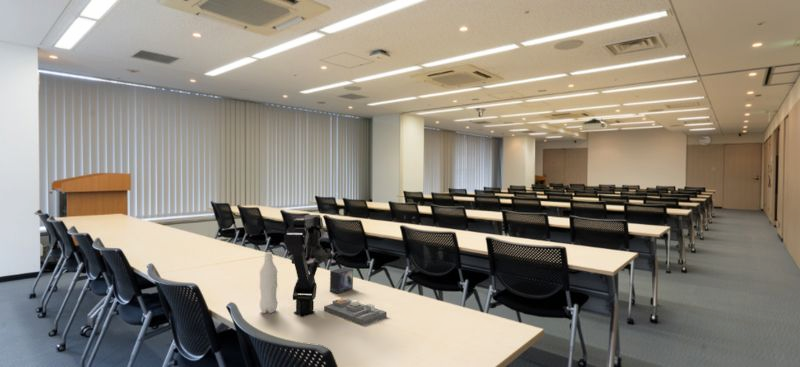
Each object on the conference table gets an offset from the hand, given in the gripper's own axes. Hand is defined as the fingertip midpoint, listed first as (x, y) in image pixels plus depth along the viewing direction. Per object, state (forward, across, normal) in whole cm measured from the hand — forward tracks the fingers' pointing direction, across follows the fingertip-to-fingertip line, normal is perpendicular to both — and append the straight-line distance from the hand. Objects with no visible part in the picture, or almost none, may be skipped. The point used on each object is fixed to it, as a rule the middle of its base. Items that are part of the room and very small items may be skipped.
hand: (312, 277), depth 180 cm
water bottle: (+12, -19, +5) cm, 23 cm away
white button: (+9, +4, -24) cm, 26 cm away
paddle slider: (+10, +5, -32) cm, 34 cm away
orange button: (+10, +4, -15) cm, 18 cm away
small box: (+12, +22, +6) cm, 26 cm away
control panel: (+12, +4, -24) cm, 27 cm away
